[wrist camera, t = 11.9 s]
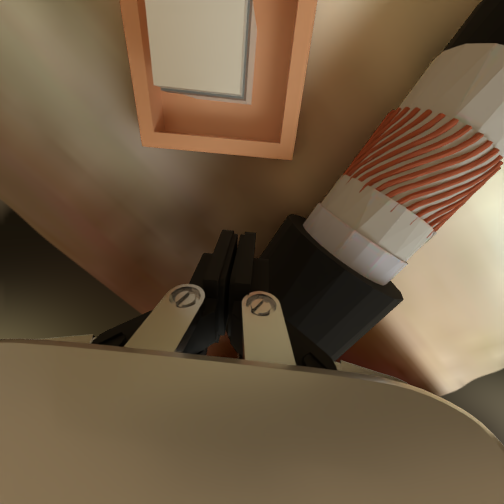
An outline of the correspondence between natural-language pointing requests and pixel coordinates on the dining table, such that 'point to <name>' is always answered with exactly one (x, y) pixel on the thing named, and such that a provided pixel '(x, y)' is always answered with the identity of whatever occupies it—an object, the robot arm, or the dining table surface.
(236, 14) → the block
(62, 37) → the dining table surface
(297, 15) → the dish
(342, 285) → the striped tapered cylinder
